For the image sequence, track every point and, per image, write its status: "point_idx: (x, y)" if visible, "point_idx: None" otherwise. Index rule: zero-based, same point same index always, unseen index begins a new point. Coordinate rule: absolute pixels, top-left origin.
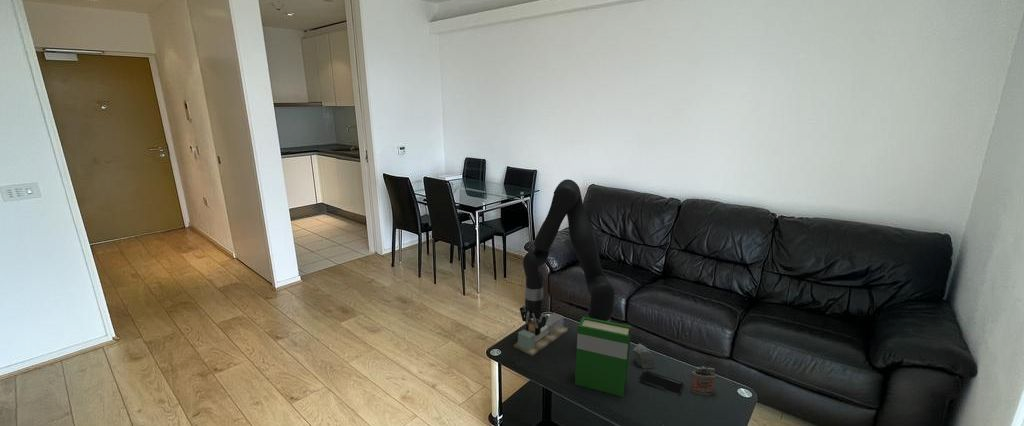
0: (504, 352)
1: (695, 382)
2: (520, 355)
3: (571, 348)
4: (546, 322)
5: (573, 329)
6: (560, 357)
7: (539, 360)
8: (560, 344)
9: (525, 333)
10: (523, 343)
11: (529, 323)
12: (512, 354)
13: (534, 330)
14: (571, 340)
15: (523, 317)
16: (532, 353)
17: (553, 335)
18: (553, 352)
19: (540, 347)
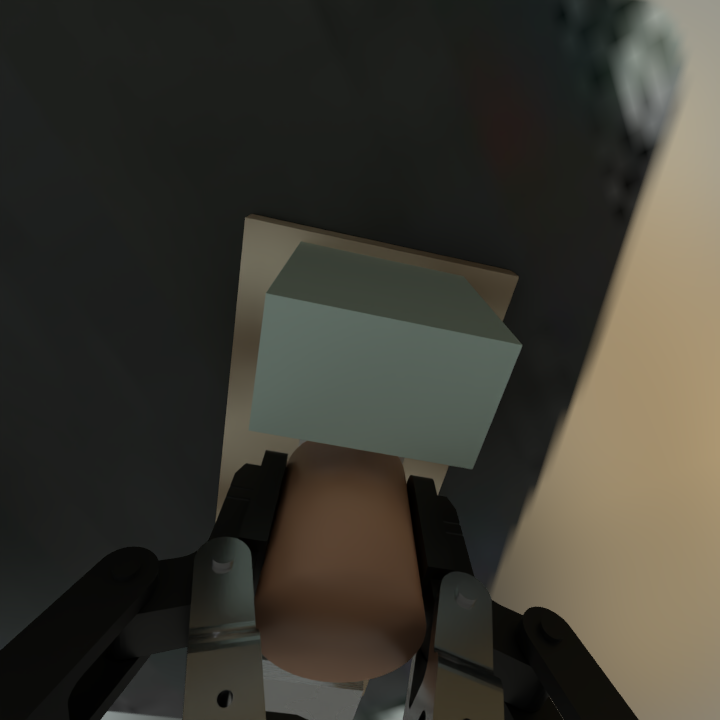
0: (576, 107)
1: None
2: (372, 151)
3: (32, 492)
4: (299, 686)
5: (182, 677)
6: (6, 332)
7: (136, 171)
8: (141, 501)
9: (392, 379)
10: (388, 276)
11: (392, 588)
12: (467, 119)
13: (290, 498)
14: None
15: (570, 689)
16: (246, 223)
17: None
18: (113, 374)
19: (235, 368)
